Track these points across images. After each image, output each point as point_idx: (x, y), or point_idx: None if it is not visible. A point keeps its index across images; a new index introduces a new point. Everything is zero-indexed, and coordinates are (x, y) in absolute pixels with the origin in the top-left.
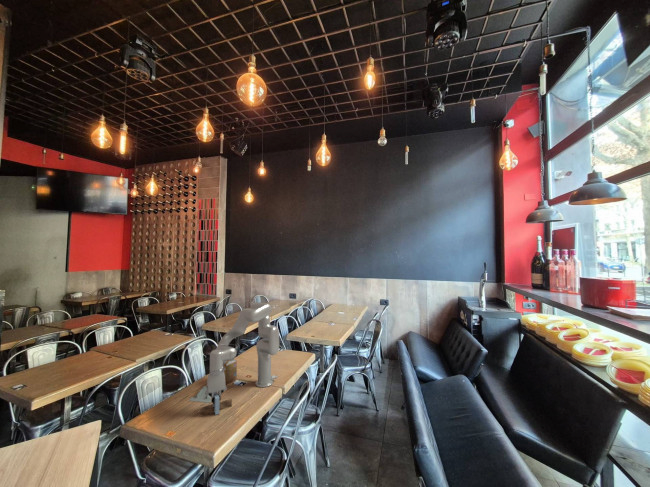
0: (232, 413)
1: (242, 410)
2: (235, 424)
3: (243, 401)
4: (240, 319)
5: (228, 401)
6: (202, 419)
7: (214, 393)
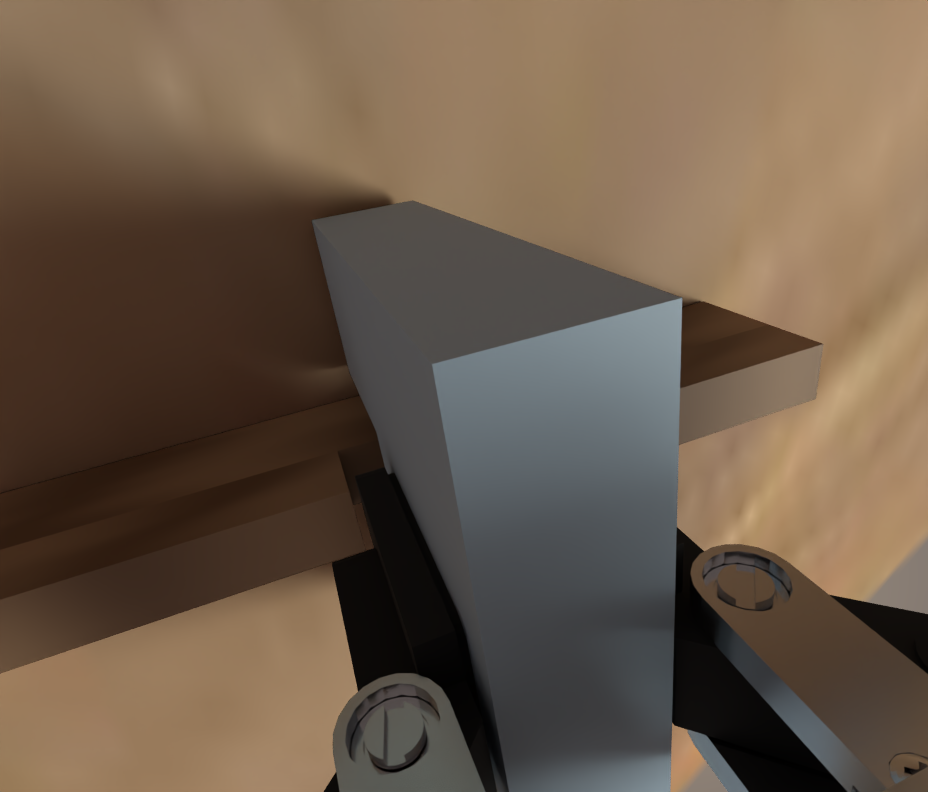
0: None
1: (796, 510)
2: None
3: (909, 231)
4: None
5: (735, 412)
6: (144, 656)
7: (528, 615)
